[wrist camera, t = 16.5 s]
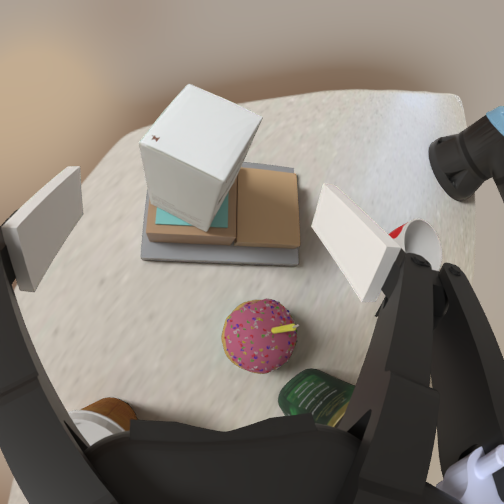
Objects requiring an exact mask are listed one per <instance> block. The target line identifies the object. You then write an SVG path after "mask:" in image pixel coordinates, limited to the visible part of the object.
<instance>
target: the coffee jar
mask: <svg viewBox="0 0 504 504" xmlns="http://www.w3.org/2000/svg"><path fill="white" fill-rule="evenodd" d="M354 388H355V386H354V385H351V384H349V383H346V382H344V381H342V380H339V379H337V378H335V377H333V376H330V375H328V374H326V373H324V372H322V371H319V370H317V369H307V370H304V371H302V372H300V373H299V374H297V375H296V376H295V377H294V378H292V379H291V380H290V381H289V382H288V383H287V384H286V385H285V386H284V387H283V388H282V390H281V392H280V394H279V397H278V403H279V406H280V408H281V410H282V411H283V413H284V414H285V416H290V415H298V414H304V413H312V416H313V419H314V422H315V423H318V424H323V425H328V426H332V427H335V428H337V427H338V426H339V424H340V422H341V420H342V418H343V416H344V413H345V411H346V409H347V406H348V404H349V401H350V399H351V396H352V394H353V391H354Z"/></svg>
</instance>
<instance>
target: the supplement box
mask: <svg viewBox="0 0 504 504" xmlns="http://www.w3.org/2000/svg"><path fill="white" fill-rule="evenodd" d="M262 119H263V117H262V116H260V115H258V114H256V113H254V112H252V111H250V110H248V109H246V108H244V107H241V106H239V105H237V104H235V103H233V102H231V101H228V100H226V99H224V98H221V97H219V96H217V95H214V94H212V93H210V92H208V91H205V90H203V89H201V88H198V87H196V86H194V85H192V84H188V85H187V86H186V87H185V88H184V89H183V90H182V91H181V92H180V93H179V95H178V96H177V97H176V98H175V99H174V100H173V101H172V102H171V104H170V105H169V106H168V107H167V108H166V109H165V110H164V111H163V113H162V114H161V115H160V117H159V118H158V119H157V120H156V121H155V123H154V124H153V125H152V126H151V128H150V129H149V130H148V131H147V133H146V134H145V135H144V137H143V138H142V139H141V140H140V142H139V147H140V152H141V158H142V163H143V168H144V173H145V178H146V183H147V188H148V193H149V197H150V202H151V204H152V205H154V206H156V207H158V208H160V209H162V210H164V211H166V212H168V213H170V214H171V215H173V216H176V217H177V218H179V219H181V220H183V221H185V222H187V223H189V224H191V225H193V226H195V227H197V228H199V229H201V230H203V231H205V232H207V231H208V229H209V227H210V225H211V223H212V221H213V219H214V217H215V215H216V214H217V212H218V210H219V208H220V206H221V204H222V203H223V201H224V199H225V197H226V195H227V194H228V192H229V190H230V188H231V186H232V185H233V183H234V182H235V179H236V177H237V175H238V172H239V170H240V168H241V166H242V164H243V161H244V159H245V157H246V155H247V152H248V150H249V148H250V145H251V143H252V141H253V138H254V136H255V134H256V132H257V130H258V127H259V125H260V123H261V121H262Z"/></svg>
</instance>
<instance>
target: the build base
mask: <svg viewBox="0 0 504 504" xmlns="http://www.w3.org/2000/svg"><path fill="white" fill-rule="evenodd" d="M298 246H300V225H299V208H298V192H297V177H296V174H295V173H294V168H289V167H282V166H274V165H266V164H258V163H249V162H243V164H242V166H241V168H240V170H239V172H238V175H237V177H236V179H235V182H234V183H233V185H232V186H231V188H230V190H229V192H228V194H227V195H226V197H225V199H224V201H223V203H222V204H221V206H220V208H219V210H218V212H217V214H216V215H215V217H214V219H213V221H212V223H211V225H210V227H209V229H208V231H207V232H205V231H203V230H201V229H199V228H197V227H195V226H193V225H191V224H189V223H187V222H185V221H183V220H181V219H179V218H177V217H176V216H173V215H171V214H170V213H168V212H166V211H164V210H162V209H160V208H158V207H156V206H154V205H152V204H151V202H150V197H149V193H148V188H147V196H146V204H145V213H144V222H143V233H142V244H141V259H142V260H156V261H179V262H202V263H227V264H254V265H284V266H295V265H297V264H299V258H298Z"/></svg>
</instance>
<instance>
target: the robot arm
mask: <svg viewBox="0 0 504 504" xmlns="http://www.w3.org/2000/svg"><path fill="white" fill-rule="evenodd" d="M429 159H430V163H431V166H432V169H433V172H434V174H435V176H436V178H437V180H438V181H439V183H440V184H441V186H442V187H443V189H444V190H445V191H446V192H447V193H448V194H449V195H450V196H451V197H452V198H454V199H456V200H459V201H463V200H465V199H467V198H469V197H471V196H472V195H473V194H474V192H475V191H476V190H477V189H478V188H479V187H480V186H481V185H482V183H483V182H484V181H486V180H488V179H489V178H492V177H493V179H494V181H495V183H496V185H497V188H498V190H499V192H500V195H501V197H502V199H503V202H504V106H499V107H497V108H496V109H494V110H492V111H490V112H487V113H486V115H485V116H484V117H482V118H481V119H479V120H478V121H476V122H475V123H474V124H472V125H471V126H469V127H468V128H466V129H465V130H463V131H462V132H460V133H459V134H455V135H450V136H445V137H441V138H438V139H437V140H435V141H434V142H432V143H431V145H430V147H429ZM82 215H83V204H82V192H81V176H80V166H73V167H67V168H65V169H64V170H63V171H62V172H60V173H59V174H58V175H57V176H56V177H54V178H53V179H52V180H51V181H50V182H48V183H47V184H46V185H45V186H44V187H43V188H42V189H40V190H39V191H38V192H37V193H36V194H35V195H34V196H33V197H32V198H31V199H29V200H28V201H27V202H26V203H25V204H24V205H23V206H22V207H21V208H19V209H18V210H16V211H15V212H14V213H13V214H12V215H11V216H10V218H8V219H7V220H6V221H5V222H4V223H3V224H2V225H1V226H0V448H1V450H2V452H3V455H4V457H5V459H6V461H7V463H8V465H9V467H10V470H11V471H12V474H13V476H14V478H15V479H16V481H17V483H18V485H19V487H20V489H21V490H22V492H23V494H24V496H25V497H26V499H27V501H28V502H29V504H504V359H503V356H502V354H501V351H500V349H499V346H498V343H497V341H496V338H495V336H494V333H493V331H492V329H491V327H490V324H489V322H488V320H487V317H486V315H485V313H484V311H483V309H482V307H481V305H480V303H479V300H478V298H477V297H476V294H475V293H474V291H473V289H472V287H471V285H470V283H469V281H468V279H467V277H466V275H465V274H464V273H463V271H461V269H460V268H459V267H457V266H456V265H452V264H450V263H444V264H443V266H442V268H441V270H440V272H439V271H436V270H432V267H431V264H430V263H429V262H428V261H427V260H426V259H425V258H424V257H422V256H421V255H418V254H415V253H406V252H405V251H404V250H403V249H402V248H401V247H400V246H399V245H398V244H397V243H396V242H395V241H394V240H393V239H392V238H391V237H390V236H389V235H388V234H387V233H386V232H385V231H384V230H383V229H382V228H381V227H380V226H379V225H378V224H377V223H376V222H375V221H374V220H373V219H372V218H371V217H370V216H369V215H367V214H366V213H365V212H364V211H363V210H362V209H361V208H360V207H359V206H358V205H357V204H356V203H355V202H354V201H352V200H351V199H350V198H349V197H348V196H347V195H346V194H345V193H344V192H342V191H341V190H340V189H339V188H338V187H337V186H336V185H332V184H325V183H323V186H322V190H321V193H320V197H319V201H318V204H317V208H316V212H315V215H314V219H313V222H312V226H311V227H312V228H313V230H314V231H315V233H316V234H317V235H318V237H319V238H320V240H321V241H322V243H323V244H324V246H325V247H326V249H327V250H328V252H329V253H330V254H331V256H332V257H333V259H334V260H335V262H336V263H337V265H338V266H339V268H340V269H341V271H342V272H343V274H344V276H345V277H346V279H347V280H348V282H349V283H350V285H351V286H352V288H353V289H354V291H355V293H356V294H357V296H358V297H359V299H360V300H361V302H376V300H377V298H378V296H379V294H380V292H381V290H382V291H383V293H384V294H385V298H384V300H383V302H382V304H381V306H380V308H379V309H378V311H377V313H376V315H375V316H376V317H378V319H377V323H376V326H375V329H374V333H373V336H372V339H371V342H370V346H369V349H368V352H367V355H366V358H365V361H364V364H363V366H362V369H361V372H360V375H359V378H358V380H357V383H356V386H355V388H354V391H353V394H352V396H351V399H350V401H349V404H348V406H347V409H346V411H345V413H344V416H343V418H342V420H341V422H340V424H339V426H338V427H337V428H335V427H332V426H328V425H323V424H318V423H315V422H314V419H313V416H312V413H304V414H298V415H290V416H283V417H274V418H269V419H266V420H263V421H260V422H257V423H254V424H251V425H248V426H245V427H242V428H239V429H235V430H232V431H228V432H221V431H215V430H210V429H205V428H200V427H196V426H191V425H187V424H183V423H178V422H166V421H147V420H134V419H130V430H129V431H123V432H119V433H115V434H112V435H110V436H107V437H104V438H102V439H101V440H99V441H97V442H95V443H94V444H92V445H91V446H90V445H89V443H88V442H87V441H86V439H85V438H84V437H83V435H82V434H81V433H80V431H79V430H78V428H77V427H76V425H75V424H74V422H73V421H72V419H71V417H70V416H69V414H68V412H67V411H66V409H65V407H64V406H63V404H62V402H61V400H60V399H59V397H58V395H57V393H56V391H55V389H54V387H53V386H52V384H51V382H50V380H49V378H48V376H47V374H46V372H45V370H44V368H43V365H42V363H41V361H40V359H39V357H38V355H37V352H36V350H35V348H34V345H33V343H32V341H31V338H30V336H29V333H28V331H27V328H26V325H25V323H24V320H23V317H22V314H21V312H20V309H19V306H18V303H17V300H16V296H15V293H14V290H13V288H12V283H13V281H14V280H15V278H16V281H17V284H18V286H19V289H20V291H28V292H35V291H36V289H37V287H38V285H39V283H40V282H41V280H42V278H43V276H44V275H45V273H46V271H47V269H48V268H49V266H50V264H51V263H52V261H53V259H54V258H55V256H56V255H57V253H58V251H59V250H60V248H61V247H62V245H63V243H64V242H65V240H66V239H67V237H68V236H69V234H70V233H71V231H72V230H73V228H74V227H75V225H76V224H77V222H78V221H79V220H80V218H81V217H82ZM446 311H447V312H446ZM430 374H431V379H432V386H433V388H430V387H429V384H430ZM436 427H437V434H438V449H439V458H440V465H441V471H442V475H443V481H441V482H439V483H438V484H437V485H436V487H434V486H433V485H431V484H429V483H427V482H426V478H427V474H428V470H429V466H430V461H431V456H432V451H433V445H434V440H435V433H436Z"/></svg>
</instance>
